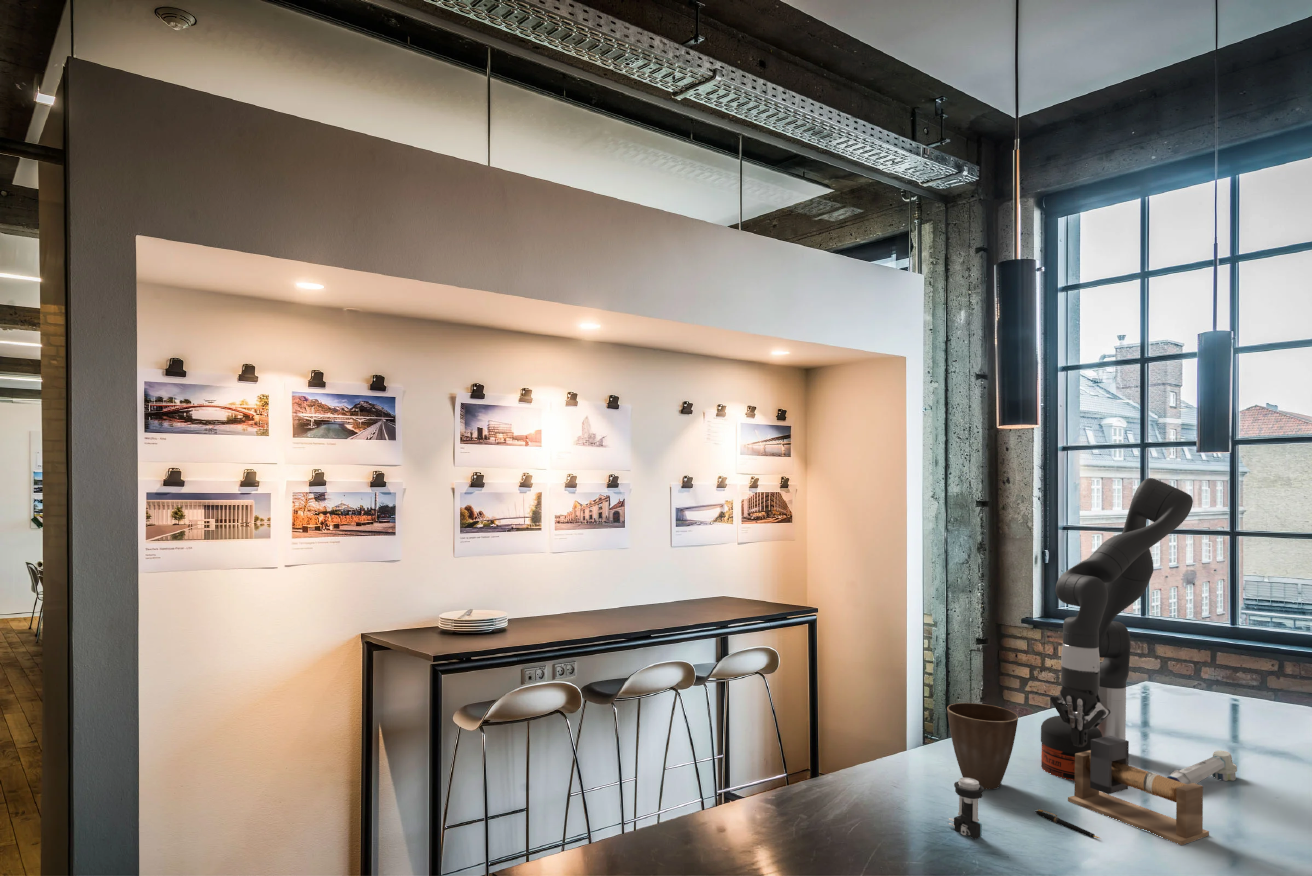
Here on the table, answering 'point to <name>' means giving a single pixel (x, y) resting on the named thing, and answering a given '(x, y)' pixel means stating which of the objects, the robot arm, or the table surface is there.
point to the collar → (1107, 763)
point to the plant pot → (982, 740)
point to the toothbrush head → (1207, 769)
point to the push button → (968, 807)
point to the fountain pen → (1064, 823)
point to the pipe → (1142, 780)
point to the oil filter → (1061, 747)
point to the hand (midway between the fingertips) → (1079, 745)
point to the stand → (1175, 830)
